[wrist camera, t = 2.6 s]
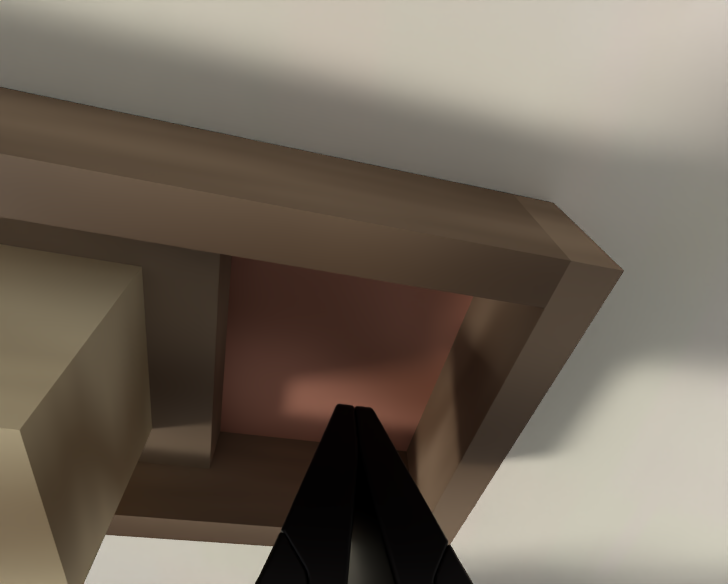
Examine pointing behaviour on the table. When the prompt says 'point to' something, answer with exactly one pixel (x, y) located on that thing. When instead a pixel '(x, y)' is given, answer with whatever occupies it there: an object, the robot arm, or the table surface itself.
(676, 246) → the table surface
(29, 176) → the trap channel
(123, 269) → the maple block
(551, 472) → the table surface
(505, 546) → the table surface
